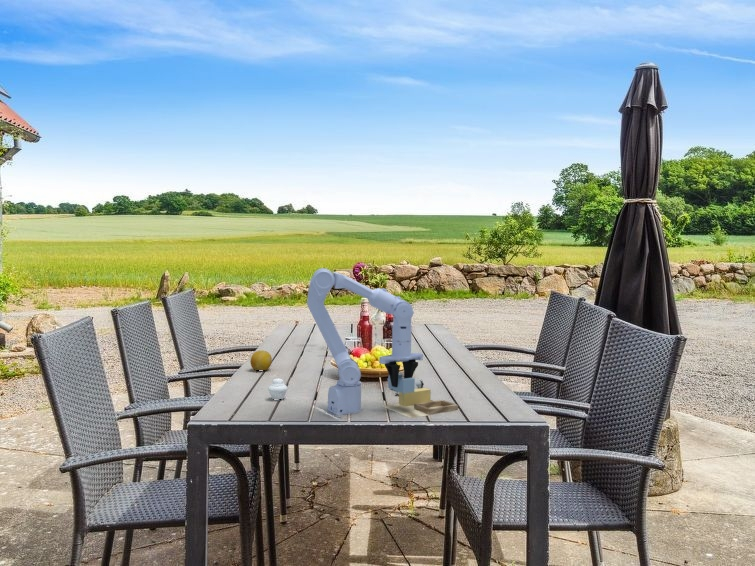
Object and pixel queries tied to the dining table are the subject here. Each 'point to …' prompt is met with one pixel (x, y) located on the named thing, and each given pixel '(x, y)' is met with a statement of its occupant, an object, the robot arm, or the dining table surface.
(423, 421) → the dining table surface
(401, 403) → the yellow rectangular block
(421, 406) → the jig
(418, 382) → the robot toy
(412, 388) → the blue notched block
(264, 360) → the fruit
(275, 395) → the white lidded jar
